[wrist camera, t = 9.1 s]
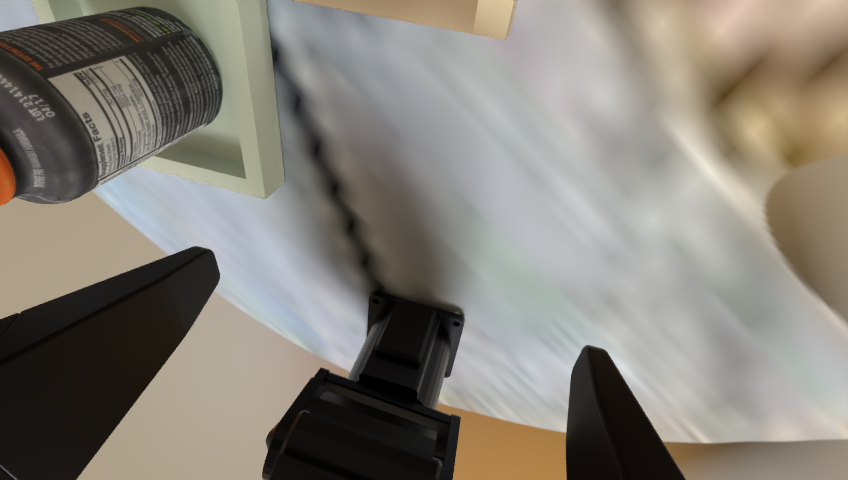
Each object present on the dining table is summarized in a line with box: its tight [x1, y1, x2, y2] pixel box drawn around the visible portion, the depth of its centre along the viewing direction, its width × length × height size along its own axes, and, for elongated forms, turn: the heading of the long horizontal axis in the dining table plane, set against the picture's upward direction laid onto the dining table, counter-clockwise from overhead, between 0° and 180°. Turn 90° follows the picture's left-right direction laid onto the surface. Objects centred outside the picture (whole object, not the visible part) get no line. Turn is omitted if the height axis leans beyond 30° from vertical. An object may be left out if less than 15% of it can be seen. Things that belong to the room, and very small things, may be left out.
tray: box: [31, 0, 285, 199], centre depth 21 cm, size 11×11×2 cm
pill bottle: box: [0, 6, 223, 206], centre depth 17 cm, size 6×6×11 cm
